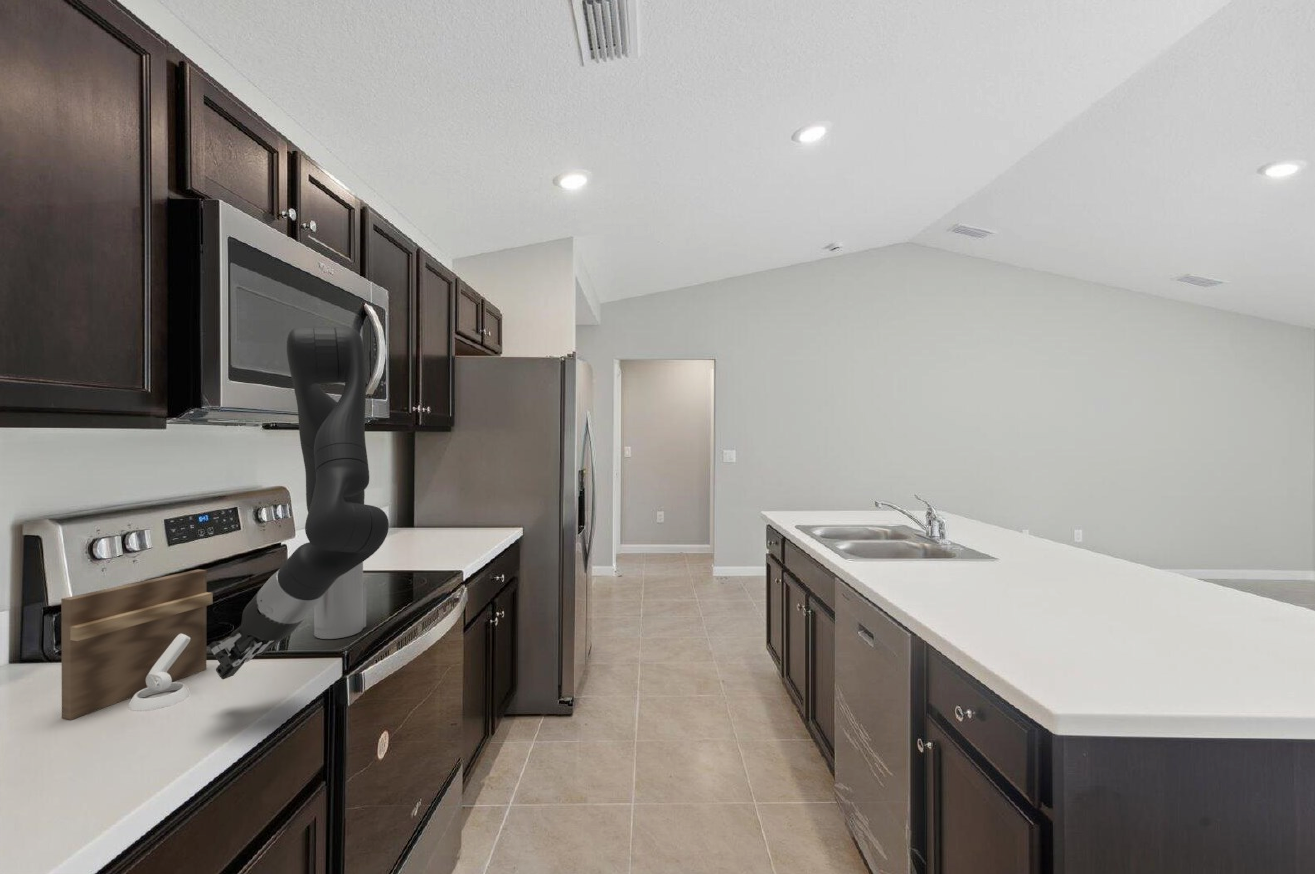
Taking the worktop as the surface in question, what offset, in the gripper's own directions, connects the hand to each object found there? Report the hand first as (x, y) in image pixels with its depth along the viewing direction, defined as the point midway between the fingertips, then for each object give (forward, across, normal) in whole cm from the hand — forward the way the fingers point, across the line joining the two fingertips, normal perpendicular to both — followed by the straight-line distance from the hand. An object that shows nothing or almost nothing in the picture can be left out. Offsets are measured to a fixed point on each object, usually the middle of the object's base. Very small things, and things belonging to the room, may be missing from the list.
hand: (223, 673), depth 92 cm
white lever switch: (+14, 0, -5) cm, 15 cm away
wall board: (+18, -1, -10) cm, 21 cm away
